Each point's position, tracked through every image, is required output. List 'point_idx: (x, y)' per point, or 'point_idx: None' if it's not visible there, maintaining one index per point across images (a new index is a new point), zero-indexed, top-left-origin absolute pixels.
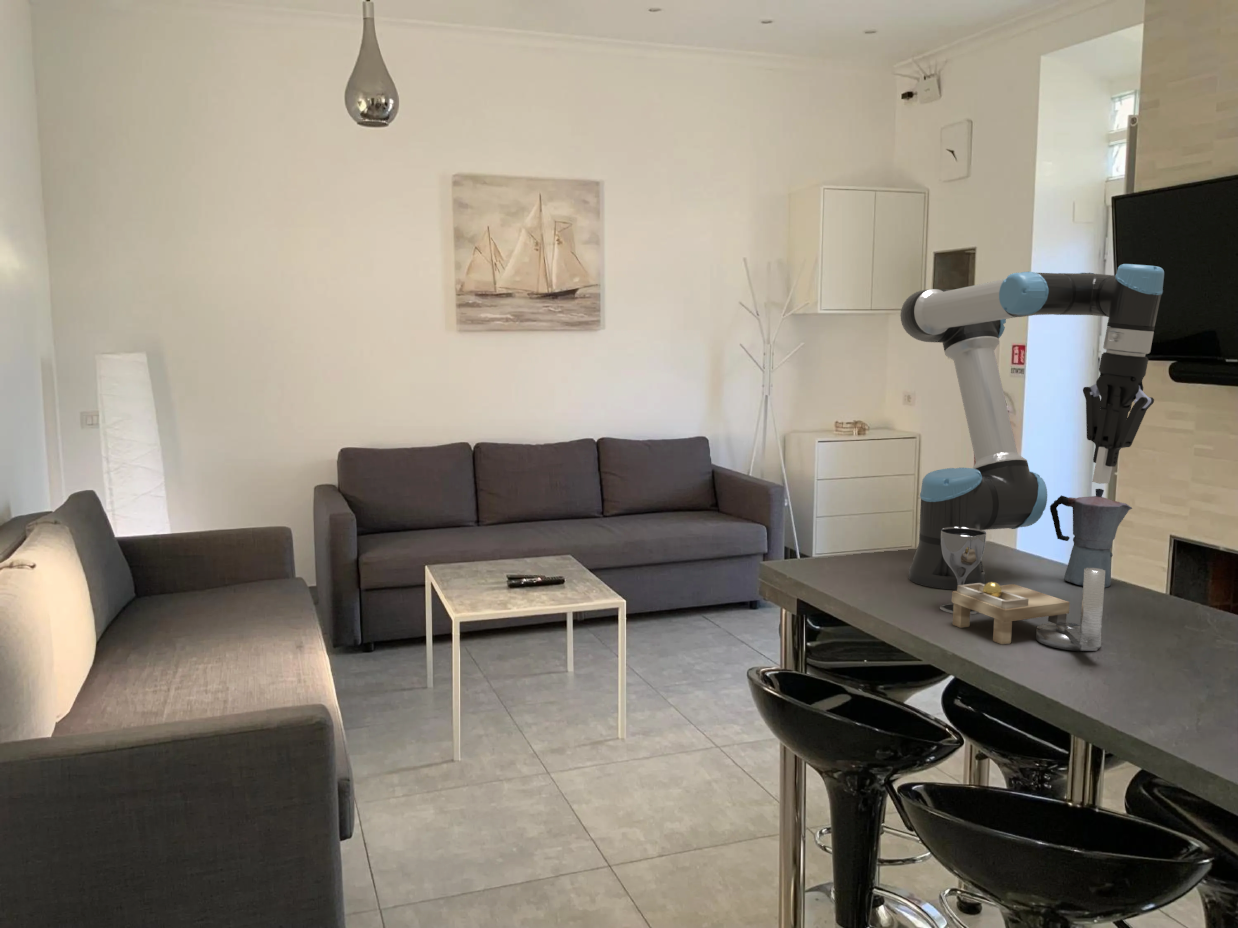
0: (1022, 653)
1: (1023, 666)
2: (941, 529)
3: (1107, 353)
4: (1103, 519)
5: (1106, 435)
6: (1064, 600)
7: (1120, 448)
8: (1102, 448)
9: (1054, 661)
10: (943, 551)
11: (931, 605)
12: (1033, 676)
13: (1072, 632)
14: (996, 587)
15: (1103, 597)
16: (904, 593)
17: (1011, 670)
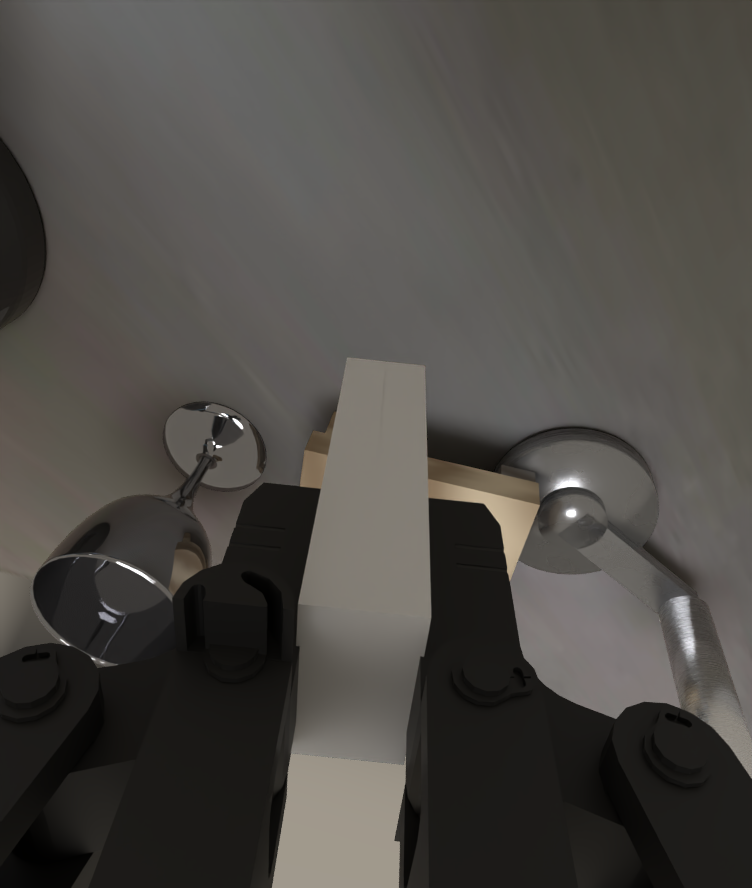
0: (537, 616)
1: (583, 672)
2: (55, 637)
3: None
4: None
5: (265, 861)
6: (520, 501)
7: (548, 699)
8: (350, 748)
9: (613, 616)
10: (126, 605)
11: (156, 471)
12: (627, 701)
13: (608, 564)
14: None
15: (743, 716)
16: (30, 433)
17: (579, 699)
